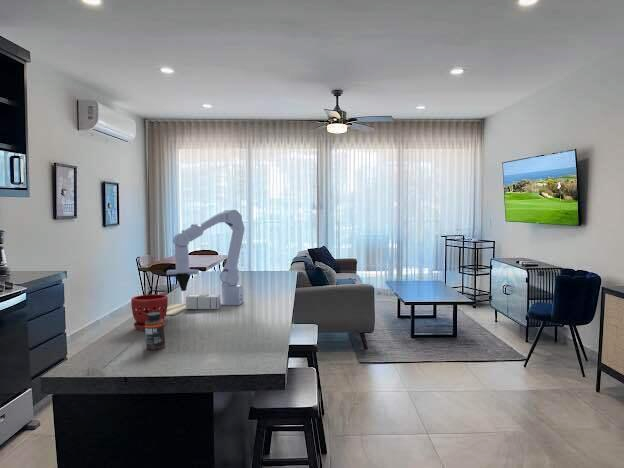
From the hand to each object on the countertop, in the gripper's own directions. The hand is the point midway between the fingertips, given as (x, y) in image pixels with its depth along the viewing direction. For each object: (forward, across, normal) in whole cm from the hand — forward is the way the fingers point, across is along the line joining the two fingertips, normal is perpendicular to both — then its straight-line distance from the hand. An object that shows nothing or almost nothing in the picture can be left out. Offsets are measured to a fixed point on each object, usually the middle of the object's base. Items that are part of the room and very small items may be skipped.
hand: (183, 290), depth 203 cm
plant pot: (+9, 0, -28) cm, 30 cm away
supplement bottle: (+9, +16, -52) cm, 55 cm away
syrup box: (+5, 0, +2) cm, 6 cm away
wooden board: (+9, -6, 0) cm, 11 cm away
